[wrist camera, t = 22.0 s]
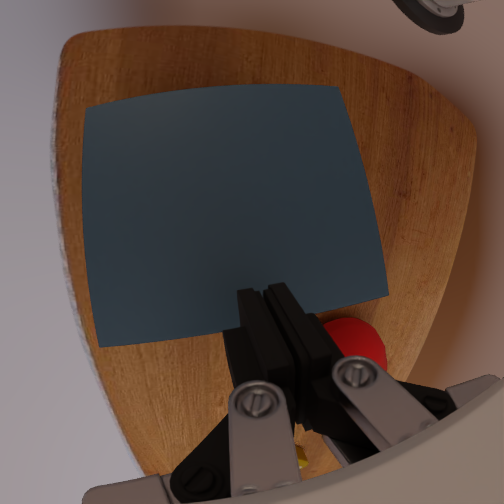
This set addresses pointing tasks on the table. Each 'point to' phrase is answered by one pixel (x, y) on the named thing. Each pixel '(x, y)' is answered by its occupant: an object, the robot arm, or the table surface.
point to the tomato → (357, 339)
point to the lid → (223, 208)
